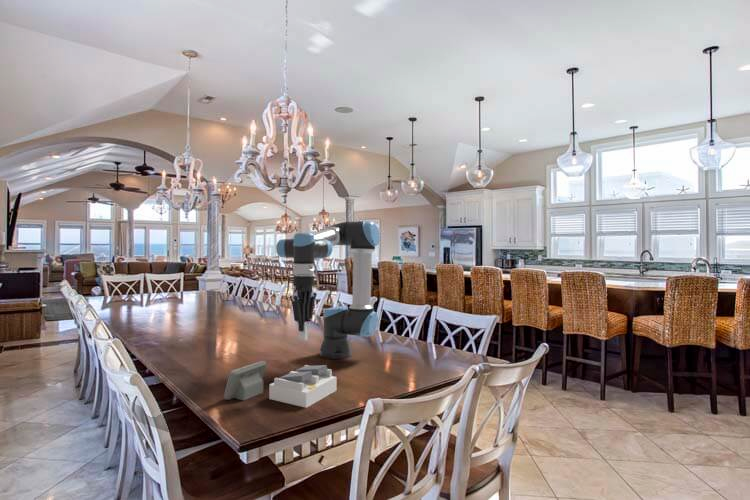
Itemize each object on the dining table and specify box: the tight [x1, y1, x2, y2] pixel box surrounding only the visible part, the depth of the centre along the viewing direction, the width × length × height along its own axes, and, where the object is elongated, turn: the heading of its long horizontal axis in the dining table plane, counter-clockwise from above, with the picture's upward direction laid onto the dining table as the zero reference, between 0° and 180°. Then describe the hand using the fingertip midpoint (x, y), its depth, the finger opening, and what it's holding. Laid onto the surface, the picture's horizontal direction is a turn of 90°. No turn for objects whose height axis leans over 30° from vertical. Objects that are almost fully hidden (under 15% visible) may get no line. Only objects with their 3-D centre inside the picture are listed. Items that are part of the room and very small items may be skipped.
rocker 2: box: [295, 364, 328, 375], centre depth 149 cm, size 10×5×2 cm, turn 62°
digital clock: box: [223, 360, 267, 401], centre depth 144 cm, size 16×9×11 cm, turn 138°
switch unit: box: [268, 364, 338, 409], centre depth 145 cm, size 16×18×7 cm
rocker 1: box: [279, 371, 312, 382], centre depth 141 cm, size 10×5×2 cm, turn 62°
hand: (303, 339), depth 148 cm, fingers closed
